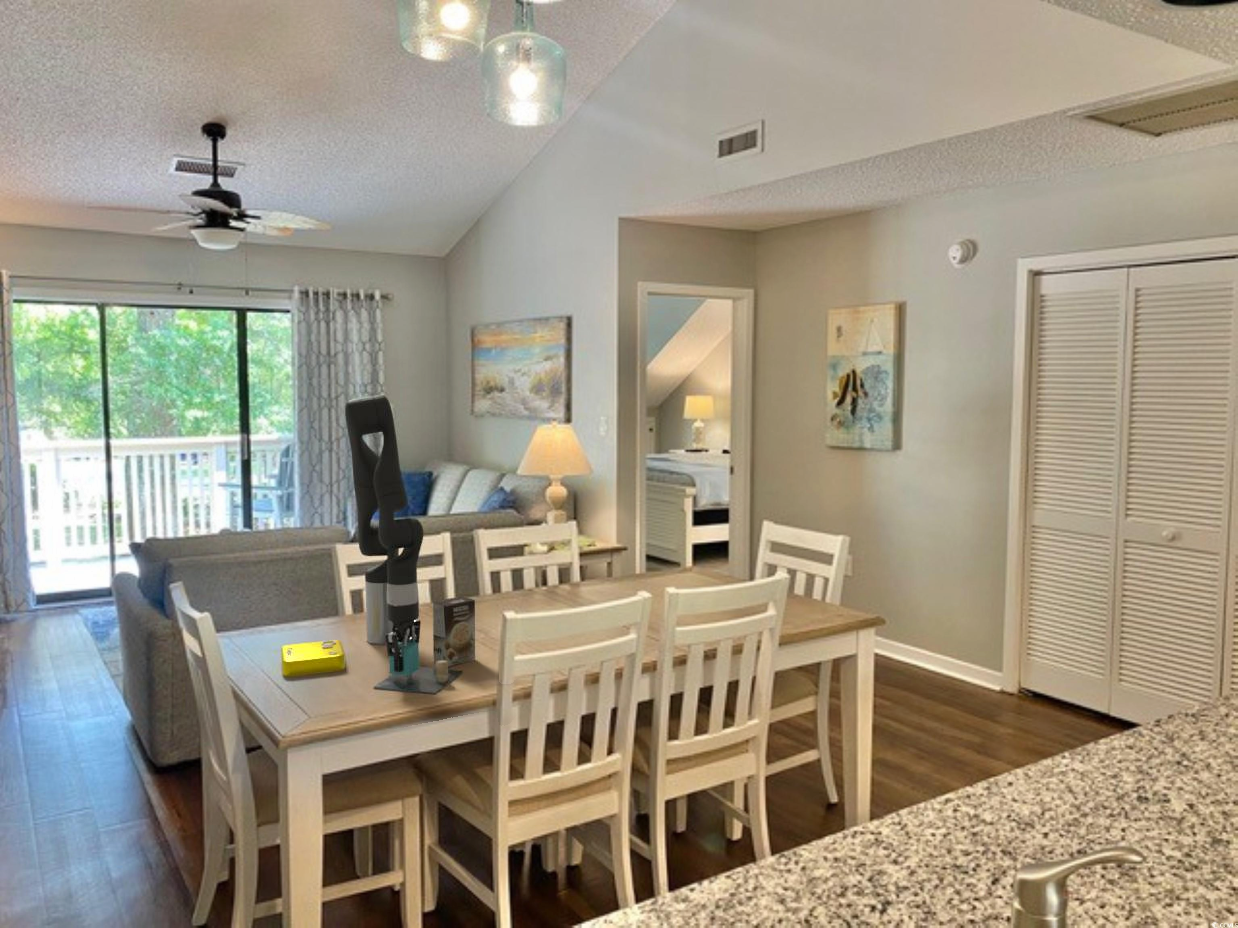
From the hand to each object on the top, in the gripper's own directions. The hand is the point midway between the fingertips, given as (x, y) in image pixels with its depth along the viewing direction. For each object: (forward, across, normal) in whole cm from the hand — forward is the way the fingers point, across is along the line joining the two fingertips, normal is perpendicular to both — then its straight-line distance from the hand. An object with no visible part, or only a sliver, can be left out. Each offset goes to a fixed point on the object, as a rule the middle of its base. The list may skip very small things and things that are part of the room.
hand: (404, 667), depth 224 cm
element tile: (+4, -4, -28) cm, 29 cm away
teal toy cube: (+1, 0, 0) cm, 1 cm away
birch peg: (+3, 0, +10) cm, 10 cm away
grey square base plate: (+3, 0, +4) cm, 5 cm away
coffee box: (+3, -16, +6) cm, 17 cm away
